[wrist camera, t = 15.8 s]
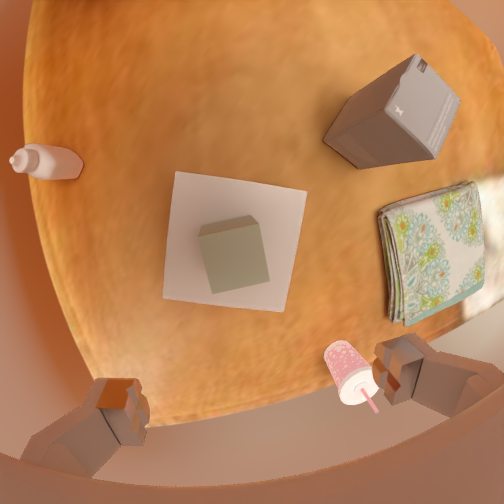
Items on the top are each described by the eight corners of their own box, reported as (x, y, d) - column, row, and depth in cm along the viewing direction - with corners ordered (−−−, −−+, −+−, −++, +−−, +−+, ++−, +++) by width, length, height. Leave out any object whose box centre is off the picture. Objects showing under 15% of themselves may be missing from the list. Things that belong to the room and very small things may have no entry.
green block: (201, 225, 29) (197, 237, 23) (250, 214, 29) (259, 223, 23) (212, 272, 30) (212, 294, 24) (260, 261, 30) (270, 281, 25)
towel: (368, 207, 37) (388, 212, 32) (466, 179, 38) (487, 181, 33) (382, 321, 41) (399, 336, 37) (471, 277, 42) (489, 286, 37)
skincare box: (358, 170, 35) (439, 171, 20) (315, 136, 33) (382, 111, 18) (386, 123, 34) (468, 105, 18) (347, 89, 32) (418, 49, 17)
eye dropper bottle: (64, 190, 31) (8, 198, 19) (47, 155, 29) (-9, 152, 18) (88, 170, 31) (35, 169, 19) (70, 135, 29) (17, 123, 18)
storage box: (182, 172, 33) (175, 171, 27) (292, 189, 35) (307, 191, 29) (170, 280, 36) (162, 298, 30) (273, 292, 38) (283, 312, 32)
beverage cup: (324, 335, 40) (365, 396, 27) (360, 336, 41) (407, 390, 28) (314, 369, 42) (347, 432, 28) (348, 368, 42) (387, 425, 29)
